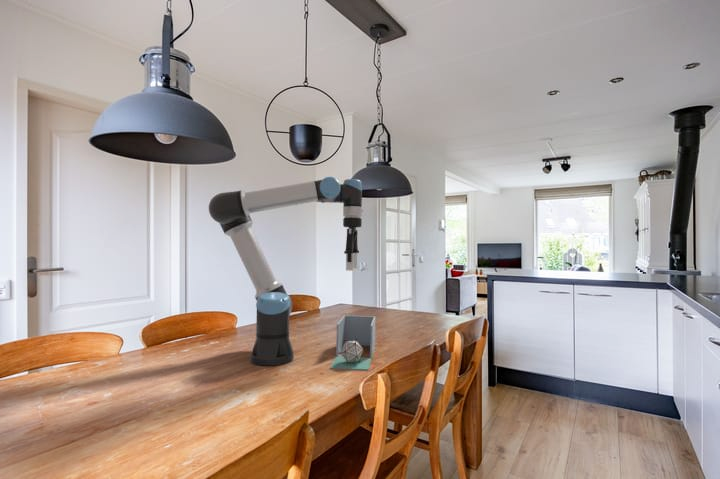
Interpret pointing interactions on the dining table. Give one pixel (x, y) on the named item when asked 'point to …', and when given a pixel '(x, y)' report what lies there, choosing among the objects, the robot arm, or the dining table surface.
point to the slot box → (356, 331)
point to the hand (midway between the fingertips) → (351, 269)
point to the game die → (351, 351)
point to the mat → (351, 364)
